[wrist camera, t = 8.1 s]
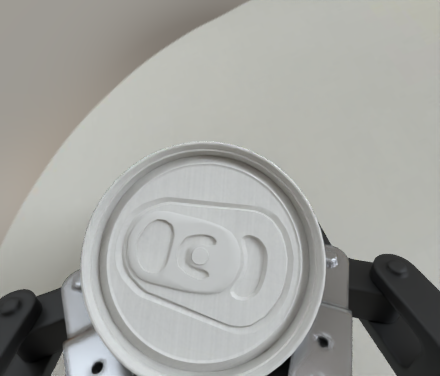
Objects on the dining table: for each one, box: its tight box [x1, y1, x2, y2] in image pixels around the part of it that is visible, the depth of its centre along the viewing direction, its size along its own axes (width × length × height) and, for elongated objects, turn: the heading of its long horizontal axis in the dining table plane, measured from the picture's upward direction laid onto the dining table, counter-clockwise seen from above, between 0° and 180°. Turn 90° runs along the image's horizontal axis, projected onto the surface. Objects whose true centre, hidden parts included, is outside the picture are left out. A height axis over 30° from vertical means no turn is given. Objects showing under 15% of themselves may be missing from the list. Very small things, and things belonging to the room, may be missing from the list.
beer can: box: [80, 141, 326, 376], centre depth 13 cm, size 6×6×15 cm
